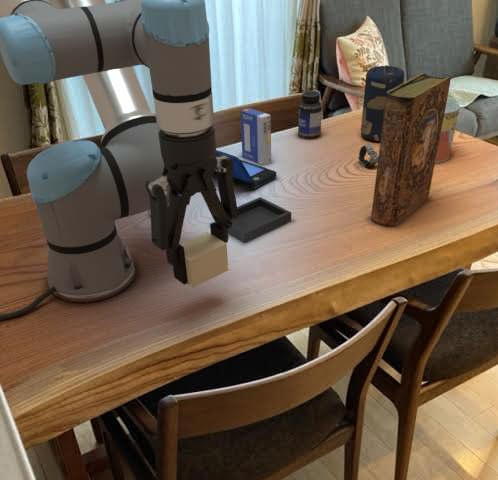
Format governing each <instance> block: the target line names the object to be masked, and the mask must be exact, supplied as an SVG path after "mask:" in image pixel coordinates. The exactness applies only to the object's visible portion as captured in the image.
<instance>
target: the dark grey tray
mask: <svg viewBox="0 0 498 480" xmlns="http://www.w3.org/2000/svg"><path fill="white" fill-rule="evenodd" d="M237 210H238V217H237V218H236V219H232V220H230V222H232V227H231V228H230V229H228V235H231V236H233V237H234V238H236V239H238V240H239V241H241V242H242V243H249V242H250V241H252V240H254V239H256V238H258V237H260V236H262V235H265V234H266V233H268V232H271V231H273V230H275V229H277V228H279V227H281V226H284V225H285V224H288V223H290V222H292V212H291V211H290V210H289V209H288V210H287V209H285V208H284V207H282V206H279V205H277V204H275V203H274V202H271V201H269V200H267V199H265V198H263V197H261V196H260V197H258V198H257V197H256V198H255V199H252V200H250V201H247V202H245V203H243V204H241V205H237ZM214 223H216V221H214Z"/></svg>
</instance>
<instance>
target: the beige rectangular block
mask: <svg viewBox="0 0 498 480" xmlns="http://www.w3.org/2000/svg"><path fill="white" fill-rule="evenodd" d="M179 244H180V245H181V246H183V247H184V253H185V263H186V271H187V279H188V283H187V284H186V285H188V286H190V287H191V288H195V287H197V286H199V285H201V284H204V283H206V282H207V281H209V280H212V279H214V278H216V277H218V276H220V275H221V274H223V273H225V272H228V271H229V261H228V259H229V258H228V245H227V243H225V242H223V241H222V240H220V239H218V238H217V237H215V236H213V235H212V234H211V232H208V231H205V232H203V233H200V234H198V235H196V236H194V237H191V238H190V239H187V240H185V241H183V242H181V243H180V242H179Z"/></svg>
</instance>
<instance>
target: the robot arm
mask: <svg viewBox="0 0 498 480" xmlns="http://www.w3.org/2000/svg"><path fill="white" fill-rule="evenodd" d="M210 50H211V49H210V25H209V21H208V16H207V6H206V0H115V1H114V2H108V3H107V2H106V0H0V55H1V58H2V61H3V63H4V66H5V67H6V70H7V72H8V74H9V77H10V78H11V79H12V80H13V82H14V83H16V84H18V85H21V86H24V85H32V84H33V85H34V84H49V83H52V82H55V81H60V80H66V79H70V78H75V77H80V76H82V78H83V81H84V83H85V85H86V87H87V90H88V92H89V95H90V98H91V99H92V102H93V104H94V106H95V109H96V112H97V114H98V116H99V119H100V121H101V123H102V126H103V128H104V132H103V134H102V137H101V139H100V144H101V147H98V145H97V144H96V143H95V142H93V141H91V140H86V139H79V140H77V141H75V140H69V141H65V142H61V143H57V144H55V145H52V146H50V147H48V148H45V149H44V150H41V152H39V153H37V154H36V155H35V156H34V158H32V159H31V160H30V162H29V163H28V166H27V169H26V177H27V182H28V186H29V190H30V193H29V194H30V197H31V199H32V201H34V205H35V209H36V211H37V215H38V218H39V221H40V224H41V226H42V231H43V234H44V237H45V241H46V243H47V247H48V253H47V268H46V269H47V270H46V278H47V284H48V286H49V289H48V290H46V291H45V292H43V293H42V294H40V295H39V296H38V297H37V298H35V299H34V300H33V301H32V302H31V303H30V304H29V305H27V306H25V307H23V308H21V309H18V310H15V311H12V312H8V313H3V314H0V321H4V320H9V319H12V318H17V317H19V316H22V315H25V314H28V313H29V312H31V311H32V310H34V309H35V308H36V307H37V306H38V305H39V304H41V302H43V301H44V300H45V299H47V298H48V297H49V296H51V295H52V294H53V295H54V296H55V297H57V298H59V299H60V300H63V301H65V302H71V303H93V302H98V301H102V300H105V299H108V298H111V297H113V296H116V295H118V294H120V293H121V292H122V291H124V290H125V289H127V288H128V287H129V286H130V285H131V284H132V282H133V281H134V279H135V276H136V273H137V272H136V266H135V261H134V259H133V257H132V255H131V253H130V250H129V248H128V246H127V244H126V243H124V242H123V240H122V239H121V237H120V235H119V234H118V232H117V231H118V230H117V227H116V221H118V220H120V219H124V218H128V217H131V216H134V215H139V214H141V213H146V212H148V211H150V231H151V232H150V233H151V243H152V245H154V246H156V247H157V248H158V249H160V250H161V251H163V252H164V251H165V253H166V261H167V263H168V264H169V265H170V266H171V267H172V271H173V277H174V278H175V280H177V281H178V282H180V283H181V284H182V285H188V284H187V283H188V279H187V271H186V263H185V253H184V247H183V246H181V245H180V241H181V236H182V232H183V228H184V227H183V226H184V220H185V218H186V217H185V216H186V211H187V207H188V205H190V203H191V197H193V196H195V195H196V194H198V193H200V194H201V196H202V198H203V200H204V202H205V204H206V207H207V208H208V210H209V212H210V214H211V217H212V219H213V221H214V222H211V223H210V224H209V228H210V234H212V235H213V236H215V237H217V238H218V239H220V240H222V241H223V242H225V243H226V244H227V243H228V242H229V233H228V229H230V228H231V227H232V222H230V220H232V219H236V218H237V217H238V210H237V207H238V204H237V198H236V192H235V191H236V190H235V185H234V184H235V183H233V177H232V170H233V160H232V159H231V158H228V157H226V156H224V155H222V154H219V155H218V156H217V157H215V154H216V150H217V141H216V140H217V139H216V130H215V127H214V126H213V125H214V123H215V117H214V101H213V90H212V89H213V88H212V87H213V86H212V67H211V51H210ZM136 66H144V67H146V68H148V70H149V76H150V83H151V88H152V89H151V91H152V97H153V105H154V113H153V111H152V110H151V107H150V104H149V103H148V100H147V98H146V95H145V93H144V90H143V88H142V86H141V83H140V81H139V78H138V76H137V73H136V71H135V68H134V67H136ZM215 170H216V176H215V177H216V181H217V187H216V185H215V183H214V180H213V174H214V172H215ZM217 188H218V189H217ZM217 191H218V193H219V194H218V193H217ZM167 206H169V209H168V214H167ZM215 221H216V223H215Z"/></svg>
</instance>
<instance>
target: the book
mask: <svg viewBox="0 0 498 480" xmlns="http://www.w3.org/2000/svg"><path fill="white" fill-rule="evenodd" d="M451 79H452V77H450V76H447V77H435V76H431V75H427V74H426V73H425V72H422V73H420V74H418V75H416V76H414V77H412V78H410V79H408V80H406V81H404V83H403V84H401V85H399V86H397V87H395V88H393V89H391V90H389V91H387V92H386V99H385V107H384V116H383V124H382V132H381V140H380V141H379V149H378V156H379V157H378V162H377V164H376V165H377V166H376V172H375V173H376V174H375V182H374V190H373V197H372V206H371V207H372V208H371V216H370V220H371V222H373V223H374V224H375V225H376V224H377V225H379V226H382V227H387V228H393V227H394V228H395V227H396V226H397V225H399V224H400V223H401V222H402V221H403V220H404V219H406V217H408V216H409V215H410V214H411V213H412V212H414V211H415V210H416V209H417V208H418V207H420V206H421V205H423V203H424V202H425V201H426V200H427V199H428V197H429V195H430V190H431V185H432V180H433V176H434V172H435V171H434V170H435V165H436V163H435V160H436V155H437V150H438V145H439V139H440V134H441V129H442V124H443V118H444V113H445V108H446V103H447V100H448V97H449V93H450V92H449V91H450V88H451V87H450V86H451Z"/></svg>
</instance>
